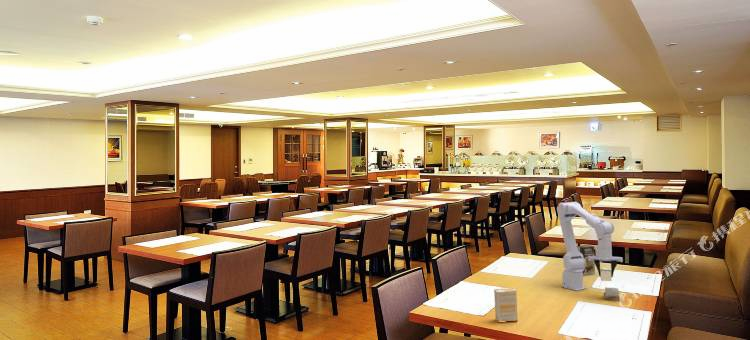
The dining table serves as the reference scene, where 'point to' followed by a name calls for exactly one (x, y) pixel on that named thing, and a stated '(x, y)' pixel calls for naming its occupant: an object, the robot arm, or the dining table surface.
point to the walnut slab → (611, 297)
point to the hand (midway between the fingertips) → (605, 276)
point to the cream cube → (605, 274)
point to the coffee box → (586, 252)
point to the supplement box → (505, 304)
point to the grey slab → (611, 291)
